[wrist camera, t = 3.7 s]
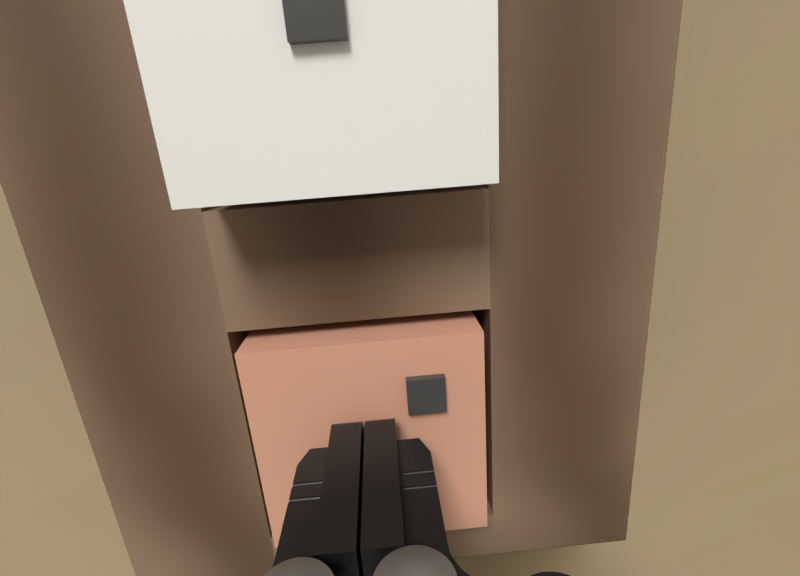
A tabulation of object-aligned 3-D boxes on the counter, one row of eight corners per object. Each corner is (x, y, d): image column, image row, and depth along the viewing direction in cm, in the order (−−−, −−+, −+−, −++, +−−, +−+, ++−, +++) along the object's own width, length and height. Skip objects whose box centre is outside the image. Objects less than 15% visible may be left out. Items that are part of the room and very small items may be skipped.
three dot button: (456, 285, 13) (486, 335, 10) (462, 442, 15) (489, 532, 12) (270, 301, 13) (231, 358, 10) (297, 458, 15) (273, 554, 11)
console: (604, -646, 9) (835, -1452, 5) (558, 434, 18) (625, 540, 13) (-73, -623, 9) (-569, -1472, 4) (205, 468, 17) (141, 590, 13)
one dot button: (453, -105, 9) (500, -256, 6) (461, 171, 11) (502, 184, 8) (182, -88, 9) (61, -233, 6) (234, 190, 11) (166, 211, 7)
